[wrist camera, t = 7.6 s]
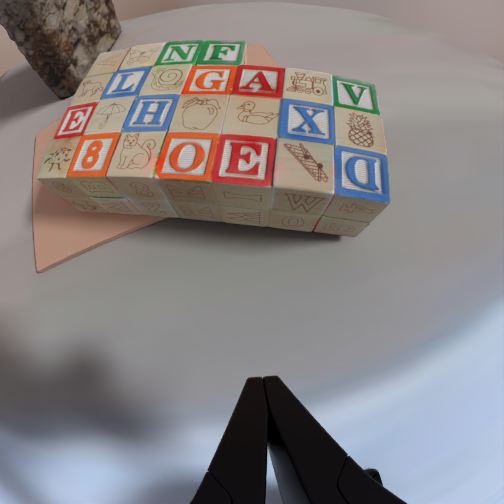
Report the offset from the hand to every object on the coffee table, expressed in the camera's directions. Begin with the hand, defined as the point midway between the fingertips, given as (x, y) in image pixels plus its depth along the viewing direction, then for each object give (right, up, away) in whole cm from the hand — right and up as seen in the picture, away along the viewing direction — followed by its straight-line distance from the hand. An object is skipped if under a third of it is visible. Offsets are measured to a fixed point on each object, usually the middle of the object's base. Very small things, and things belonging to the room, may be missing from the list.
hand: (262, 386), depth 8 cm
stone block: (-20, +27, +19) cm, 39 cm away
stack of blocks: (-4, +6, +9) cm, 12 cm away
